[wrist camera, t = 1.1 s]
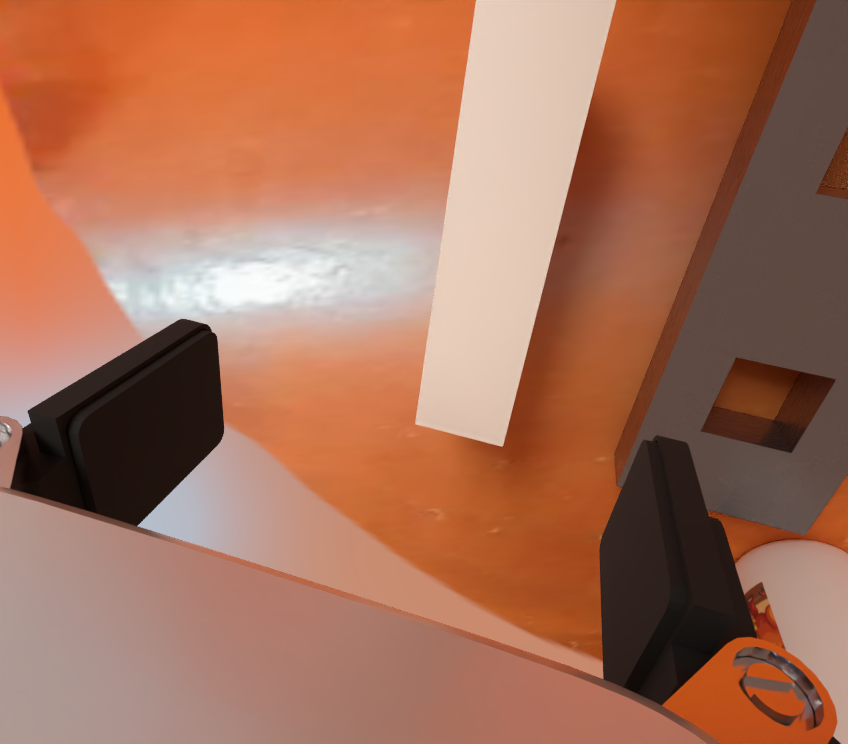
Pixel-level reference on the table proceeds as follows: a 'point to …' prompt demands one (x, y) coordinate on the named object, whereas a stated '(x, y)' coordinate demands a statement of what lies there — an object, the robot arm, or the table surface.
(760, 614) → the milk bottle
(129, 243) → the table surface
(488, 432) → the white peg bar
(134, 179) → the table surface
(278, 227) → the table surface
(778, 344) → the grey base board
